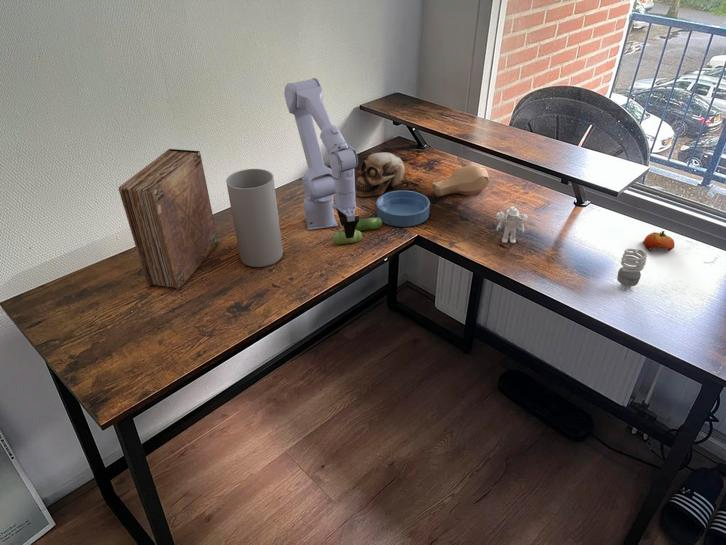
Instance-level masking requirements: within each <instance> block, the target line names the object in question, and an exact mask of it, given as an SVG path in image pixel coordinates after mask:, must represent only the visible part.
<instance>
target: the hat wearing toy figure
mask: <svg viewBox="0 0 726 545" xmlns="http://www.w3.org/2000/svg"><path fill="white" fill-rule="evenodd" d="M523 207H524V204H520V205H516V207H515V206H511V207H509V208H508V209H507V210H506V214H505V212H504V211H502V210H501V211H498V212H497V213H496V215H495V216H496V217H495V219H497V220H498V224H497V225H496V228H495V229H496V231H497V232H499V229H500V230H502V225H503V224H504V225H505V227H504V230H503V235H502V238H501V242H502V244H507V243H508V240H509V242H510V244H516V242H517V240H516V234H517V233H516V232H517V225H518V226H519V229H518V232H520V231H521V234H524V233H525V226H524V224H525V223H527V222H528V214H527V213H520V211H519V210H520V209H522V208H523ZM509 233H510V237H509Z"/></svg>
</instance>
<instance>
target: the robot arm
mask: <svg viewBox="0 0 726 545" xmlns="http://www.w3.org/2000/svg"><path fill="white" fill-rule="evenodd" d="M283 96H284V100H285V103H286V108H287V110H288V113H289V114H291V115H293V117H294V121H295V123H296V127H297V131H298V135H299V140H300V141H301V146H302V149H303V154H304V157H305V161H306V165H307V170H306V172H305V173H304V174H303V176H302V177H301V181H302V188H303V194H304V196H305V198H304V199H303V211H304V215H303V216H304V222H305V224H306V227H307V230H308V231H313V230H314V231H315V230H320V229H327V228H328V229H329V228H334V227H338V226H339V224H340V226H341V227H343V232H345V236H346V238H353V237H354V233H355V230H356V229H355V228H356V225H357V223H358V222H359V220H360V216H359V215H357V216H355V212H356V209H357V202H356V195H355V187H356V178H355V168H357V167H358V165H359V156H358V154H357V151H356V149H355V148H354V147H353V146H351V145H350V144H349V143H347V141H346V140H345V138H344V136H343V134H342V132H341V130H340V127H338V126H337V125H333V122H332V121H331V119H330V115H329V114H328V111H327V109H326V106H325V104H324V101H323V100H324V90H323V84H322V83H321V82H320V80H319V79H318V78H316V77H313V78H310V79H305V80H300V81H295V82H288V83H286V84H285V87H284V92H283ZM313 120H314V121H313ZM314 122H315V124H316V125H317V127H318V128H319V130H320V133H319V134H320V135H319V138H320V141H321V142H322V144H323V146H324V148H325V150H326V152H327V154H328V155H329V159H328V162H329V165H330V167H328V166H327V165H325V163H324V159H323V156H322V151H321V147H320V143H319V140H318V136H317V132H316V128H315V124H314ZM334 198H335V202H334ZM335 210H336V212H337V215H338V219H339V224H338V222H337V219H336V216H335Z"/></svg>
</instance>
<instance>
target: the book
mask: <svg viewBox="0 0 726 545" xmlns="http://www.w3.org/2000/svg"><path fill="white" fill-rule="evenodd" d="M201 155H202V154H201V150H192V149H191V150H190V149H178V148H177V149H176V148H168V149H167V150H166V151H164V152H163V153H162V154H160V155H159V156H158V157H156V158H155V159H154V160H152V162H150V163H149V164H147V165H146V166H145V167H143V168H142V169H141V170H139V171H138V172H137V173H136V174H134V175H132V176H131V177H130V178H129V179H127V180H126V181H125V182H123V183H122V184H121V185H120V186H118V192H119V196H120V199H121V202H122V206H123V209H124V212H125V216H126V219H127V223H128V226H129V230H130V232H131V235H132V239H133V243H134V246H135V249H136V252H137V256H138V259H139V262H140V266H141V270H142V273H143V276H144V280H145V283H146V286H147V287H148V288H150V287H151V286H152V285H153V286H159V287H167V288H175V289H176V291H180V290H181V289H182V287H183V286H184V285H185V284H186V282H187V281H188V280H189V279H190V278H191V277H192V275H193V274H194V273H195V271H197V269H198V268H199V266H200V265H202V263H203V262H204V261H205V259H207V257H208V256H209V255H210V253H212V251H213V250H214V249H215V248H216V246H217V245H218V244H219V238H218V234H217V229H216V224H215V218H214V214H213V208H212V204H211V199H210V193H209V190H208V185H207V180H206V174H205V170H204V164H203V160H202V156H201Z"/></svg>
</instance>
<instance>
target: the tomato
mask: <svg viewBox="0 0 726 545" xmlns="http://www.w3.org/2000/svg"><path fill="white" fill-rule="evenodd" d="M665 232H666V231H665V230H662V231H659V232H655V231H653V232H651V233H649V234H647V235H646V236H645V238H644V239H643V242H642V243H643V246H644V248H645V249H646V250H648V251H649V252H651V249H659V248H660V249H662V248H665V250H666V251H667V252H668V253H669V252H670V251H672V250H674V248H675V240H674V239H673V237H671V236H670V235H667V234H666V233H665Z"/></svg>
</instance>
